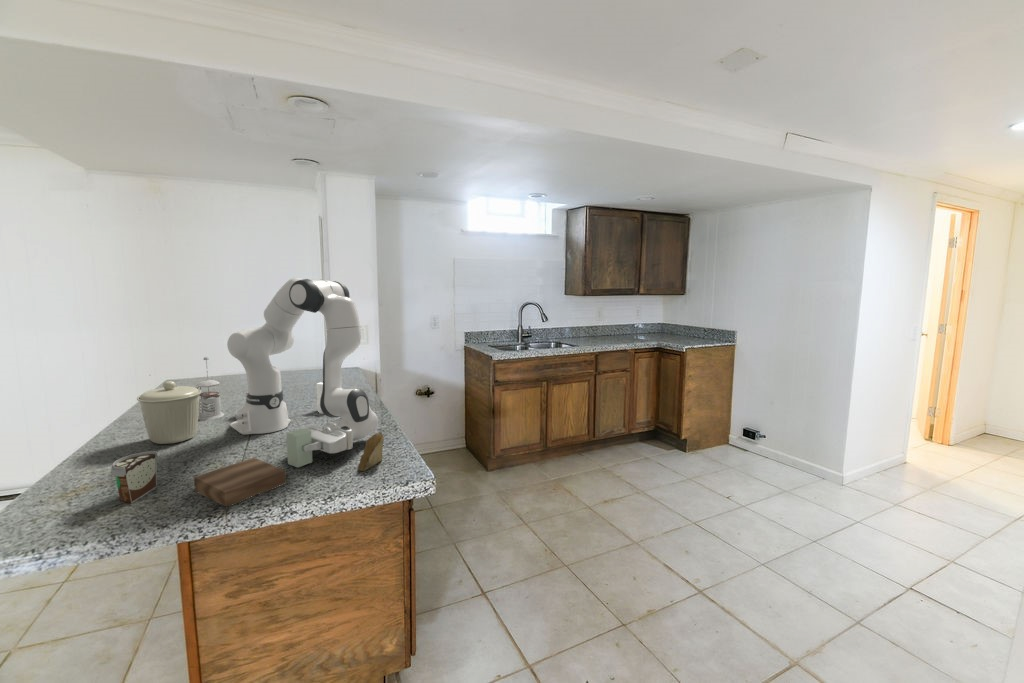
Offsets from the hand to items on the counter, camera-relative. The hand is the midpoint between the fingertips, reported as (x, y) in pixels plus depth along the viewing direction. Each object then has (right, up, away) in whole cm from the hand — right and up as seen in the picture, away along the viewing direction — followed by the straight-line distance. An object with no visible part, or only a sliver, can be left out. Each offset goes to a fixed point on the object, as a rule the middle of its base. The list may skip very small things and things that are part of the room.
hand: (296, 446), depth 138 cm
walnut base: (-9, -8, -14) cm, 18 cm away
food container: (-34, -9, -19) cm, 40 cm away
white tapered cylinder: (-14, +2, +59) cm, 61 cm away
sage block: (0, -5, +2) cm, 6 cm away
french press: (-60, +1, +48) cm, 77 cm away
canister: (-54, -3, +21) cm, 58 cm away
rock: (+21, -7, +3) cm, 23 cm away
